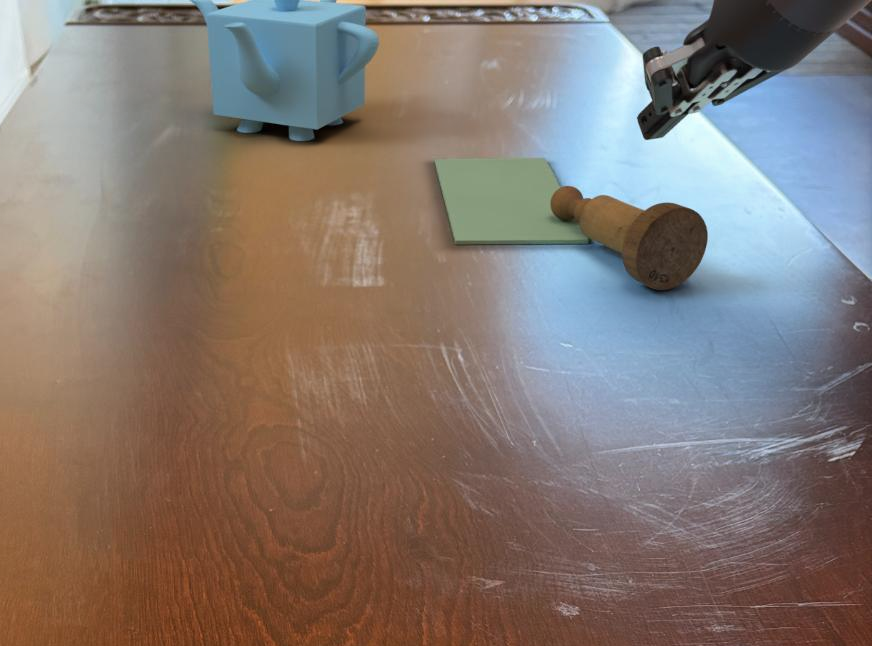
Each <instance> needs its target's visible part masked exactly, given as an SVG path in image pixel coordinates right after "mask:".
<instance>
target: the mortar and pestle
mask: <svg viewBox="0 0 872 646" xmlns="http://www.w3.org/2000/svg"><path fill="white" fill-rule="evenodd" d="M560 187H561V188H559V189H558V190H556V191H555V192H554V194H553V195H552V198H551V201H550V206H551V210H552V212H553V214H554V215H555V216H556V217H557V218H559V219H561V220H571V219H573V218H575V219H576V221H577V222H578V223H580V228H581V231H582V233H583V234H584V235H585V236H586V237H588V239H589V240H592V241H594V242H596V243H598V244H601V245H602V246H605V247H607V248H609V249H611V250H613V251H615V252H617V253H619V254H621V256H622V257H621V258H622V263H623V266H624V268H625V271H626V272H627V274H628V275H629V276H630V277H631V278H632V279H633V280H635V281H636V282H638V283H640V284H642V285H644V286H646V287H648V288H649V289H652V290H656V291H666V290H670V289H673V288H677V287H678V286H680V285H682V284H683V283H684V282H686V281H687V280H688V279H689V278H690V277H691V276H692V275H693V274H694V273H695V271H696V270H697V269H698V267H699V266H700V264H701V263H702V260H703V258H704V255H705V253H706V249H707V245H708V238H709V237H708V236H709V234H708V233H709V232H708V227H707V224H706V222H705V220H704V218H703V217H702V215H701V214H700V213H698V212H697V211H696V210H694V209H692V208H690V207H687V206H684V205H681V204H678V203H675V202H667V201H665V202H660V203H656V204H654V205H651V206H649V207H648V208H646V209H642V208H639V207H637V206H634V205H632V204H629V203H627V202H624V201H623V200H620V199H618V198H615V197H613V196H610V195H607V194H599V195H597V196H595V197H592V198H590V197H585V198H584V196H583V193H582V192H581V191H580V190H579V188H577V187H576V186H572V185H563V186H560Z"/></svg>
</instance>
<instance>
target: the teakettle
mask: <svg viewBox="0 0 872 646" xmlns="http://www.w3.org/2000/svg"><path fill="white" fill-rule="evenodd" d="M189 1H190V2H191V3H192V4H193V5H195V6H196V7H197V9H199V11H200V13H201V14H202V16H203V18H204V21H205V24H206V28H207V40H208V41H207V43H208V57H209V71H210V84H211V86H210V87H211V97H212V111H213V112H212V113H213V115H216V116H222V117H228V118H234V119H241V121H240V122H239V125H238V127H237V128H236V132H239V133H245V134H252V133H258V132H261V131H262V128H263V126H264V123H270V124H277V125H281V126H288V138H289V139H290V140H291V141H295V142H306V141H311V140H314V139H315V134H314V130H317V131H318V130H319V129H321V128H323V127H325V126H338V125H339V126H340V125H341V124H343V123H344V121H343V119H342V117H344V116H346V115H348V114H349V113H351V112H354V111H355V110H357V109H359V108H361V107H364V106H365V103H366V101H365V100H366V66H367V65H368V64H369V63H370V62H371V61H372V60H373V58H374V57H375V55H376V53H377V52H378V48H379V45H380V38H379V35H378V34H377V33H376V32H375V31H374V30H372V29H371V28H369V27H366V26H367V25H366V21H367V8H366V6H365V5H361V4H360V5H359V4H349V3H340V2H339V3H338V2H337V0H319V1H318V0H317V1H316V0H246V1H242V2H239V3H236V4H233V5H230V6H226V7H224V8H220V9H219V8H218V7H217V5H216V4H215V2H214V1H212V0H189Z"/></svg>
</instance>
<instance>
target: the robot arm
mask: <svg viewBox="0 0 872 646" xmlns="http://www.w3.org/2000/svg"><path fill="white" fill-rule="evenodd" d="M871 1H872V0H713V3H712V7H711V11H710V13H709V14H710V15H709V17H708V19H707V20H705V21H704V22H703V23H701V24H700V25H698V26H697V27H695V28H694V29H692V30H691V31H689V33H688V34H687V35H686V36H685V37H684V39H683V42H682V46H680V47H678V48H675V49H673V50H671V51H669V52H668V51H667V50H663V51H662V50H661V47H660V46H653V47H650V48H648V49H647V50H646V51H644V52H643V54H642V64H643V65H642V66H643V74H644V84H645V87H646V90H647V91H648V93H649V97H650V99H651V101H650V102H649V103H648V104H647V105H646V106H645V107H644V108H643V109H642V110H641V111H640V112H639V113H638V114H637V116H636V120H637V124H638V127H639V130H640V132H641V136H642V137H643V139H644V140H645V141H650V140H651V141H652V140H656V139H662V138H664V137H665V136H666V135H667V134H669V132H671V131H672V130H673V129H674V128H675V127H676V126H678V124H680V123H681V122H682V121H683V120H684V119H685V118H686V117H687V116H689V115H692V114H696V113H699V112H700V111H701V110H702V109H704V108H705V107H706V106H707V105H709V104H710V102H711V105H712V106H713V107H717V106H722V105H723V104H724V103H726V102H728V101H731V100H732V99H734V98H735V97H737V96H740V95H741V94H743V93H745V92H747V91H748V90H750V89H753V88H754V87H756V86H758V85H760V84H762V83H764V82H765V81H767V80H770V79H771V78H773V77H775V76H777V75H779V74H780V73H783V72H785V71H787V70H789V69H791V68H793V67H795V66H796V65H798V64H800V62H802V61H803V60H804V59H806V57H808V55H810V54H811V53H813V51H815V50H816V49H817V48H818V47H819V46H820V45H821V44H822V43H824V42H825V41H826V40H828V38H830V37H831V36H832V35H833V34H834V33H836V31H838V30H839V29H840V28H841V27H842V26H843V25H845V24H846V23H847V22H848V21H850V19H852V18H853V17H854V16H855V15H857V14H858V13H859V12H860V11H861V10H862V9H864V8H865V7H866V6H867V5H868V4H869V3H870V2H871Z"/></svg>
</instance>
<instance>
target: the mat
mask: <svg viewBox="0 0 872 646" xmlns="http://www.w3.org/2000/svg"><path fill="white" fill-rule="evenodd" d="M433 163H434V167H435V171H436V175H437V178H438V183H439V187H440V190H441V194H442V198H443V202H444V206H445V210H446V213H447V216H448V221H449V225H450V229H451V233H452V236H453V241H454V244H455V245H456V246H457V245H458V246H459V245H575V244H576V245H587V244H589V241H590V238H588V237H586V236H585V235H584V234H583V233H582V231H581V228H580V223H578V222H577V221H576V219H575V218H573V219H571V220H561V219H559V218H557V217H556V216H555V215H554V214H553V212H552V210H551V206H550V201H551V198H552V195H553V194H554V192H555V191H556V190H558V189H559V188H561V187H562V186H560V183H559V182H558V180H557V177H556V176H555V174H554V172H553V170H552V169H551V167H550V165H549V162H548V161H547V159H546V157H492V158H491V157H487V158H484V157H483V158H481V157H479V158H474V157H473V158H471V157H470V158H468V157H467V158H465V157H463V158H434V160H433Z"/></svg>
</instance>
